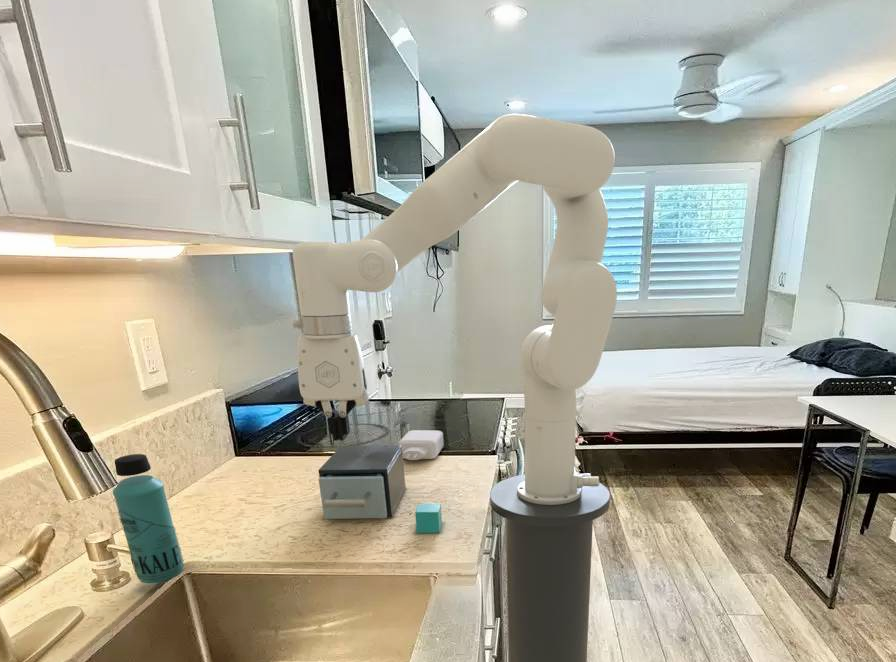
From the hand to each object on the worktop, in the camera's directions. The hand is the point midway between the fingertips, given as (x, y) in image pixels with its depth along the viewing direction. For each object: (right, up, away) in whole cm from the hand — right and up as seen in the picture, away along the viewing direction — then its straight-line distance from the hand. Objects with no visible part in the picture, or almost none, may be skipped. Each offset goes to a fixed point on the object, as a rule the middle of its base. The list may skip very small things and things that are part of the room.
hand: (340, 438), depth 97 cm
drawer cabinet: (+1, -11, +16) cm, 20 cm away
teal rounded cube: (+15, -16, +5) cm, 22 cm away
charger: (+8, -1, +42) cm, 43 cm away
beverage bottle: (-24, -23, -11) cm, 35 cm away
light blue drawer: (+1, -12, +11) cm, 17 cm away
